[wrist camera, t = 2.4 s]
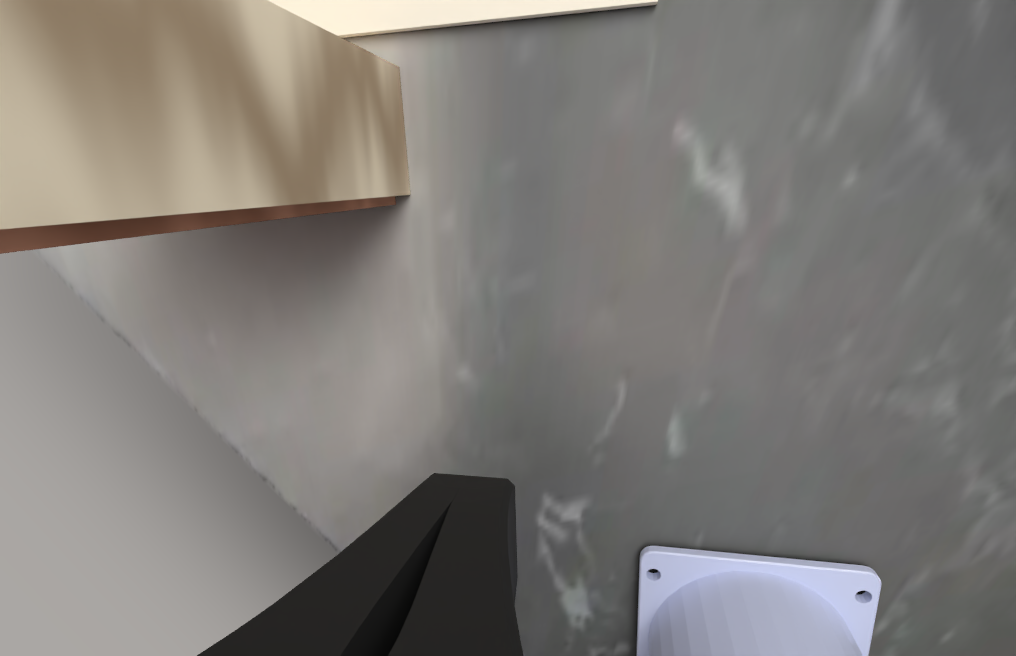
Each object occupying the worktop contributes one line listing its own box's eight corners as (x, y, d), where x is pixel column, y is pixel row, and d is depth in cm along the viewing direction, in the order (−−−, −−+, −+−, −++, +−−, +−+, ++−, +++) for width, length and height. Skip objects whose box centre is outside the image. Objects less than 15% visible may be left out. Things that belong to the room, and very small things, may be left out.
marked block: (411, 203, 18) (-151, 275, 5) (210, 210, 20) (-621, 279, 6) (399, 66, 17) (-384, -329, 4) (187, 86, 18) (-889, -142, 5)
